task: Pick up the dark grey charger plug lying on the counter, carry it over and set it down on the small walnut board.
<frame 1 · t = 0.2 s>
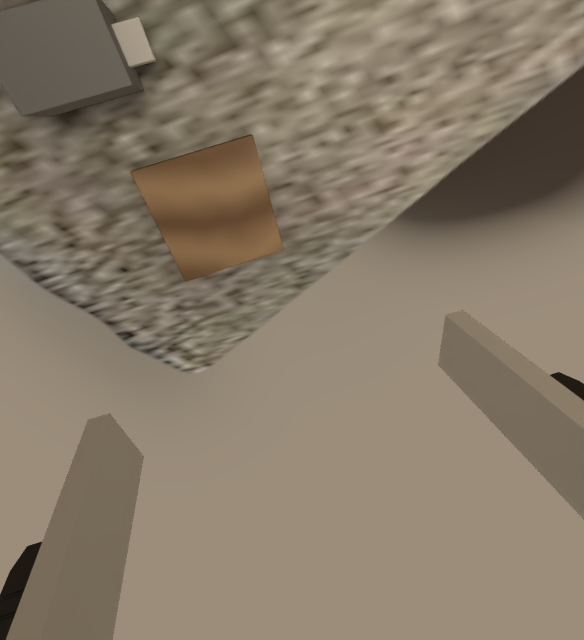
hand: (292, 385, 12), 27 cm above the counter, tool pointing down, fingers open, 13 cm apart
charger plug: (81, 66, 26), on the counter
walnut board: (215, 212, 34), on the counter
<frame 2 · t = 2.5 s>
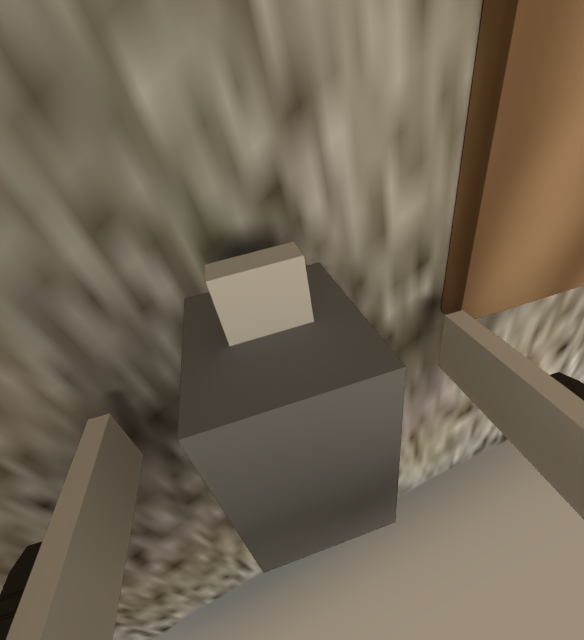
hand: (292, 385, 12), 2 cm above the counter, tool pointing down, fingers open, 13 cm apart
charger plug: (274, 358, 14), on the counter
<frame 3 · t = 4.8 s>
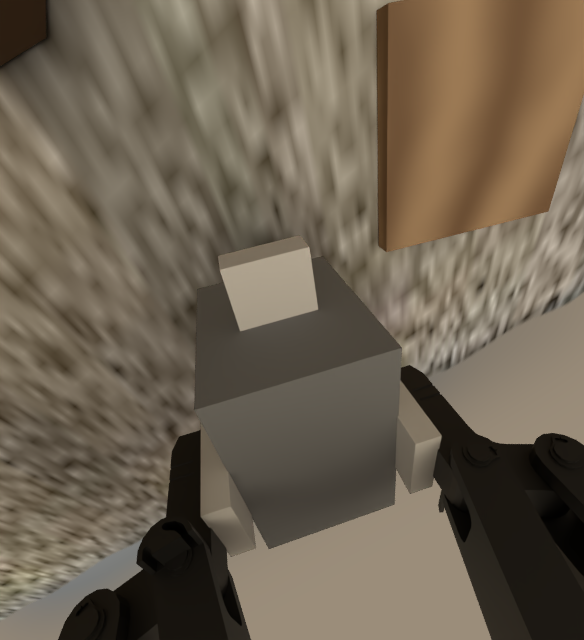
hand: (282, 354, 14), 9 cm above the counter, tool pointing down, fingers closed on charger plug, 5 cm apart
charger plug: (280, 349, 14), point 8 cm above the counter, touching gripper
walnut board: (471, 129, 19), on the counter
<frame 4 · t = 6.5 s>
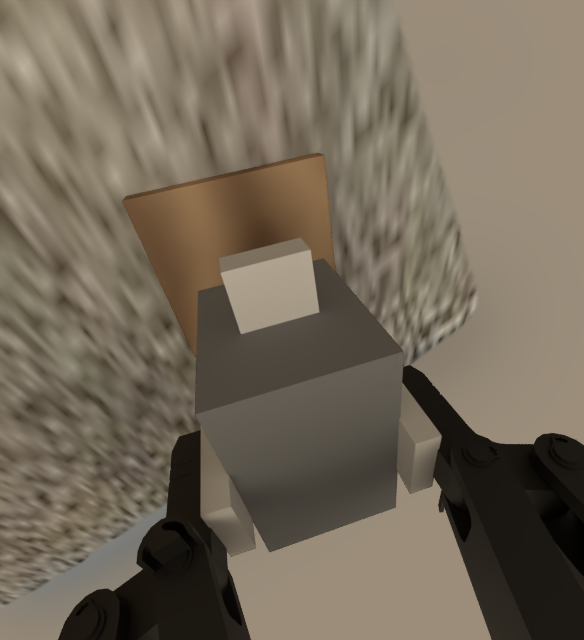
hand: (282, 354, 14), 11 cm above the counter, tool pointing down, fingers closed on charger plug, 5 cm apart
charger plug: (281, 351, 14), point 10 cm above the counter, touching gripper
walnut board: (249, 262, 23), on the counter
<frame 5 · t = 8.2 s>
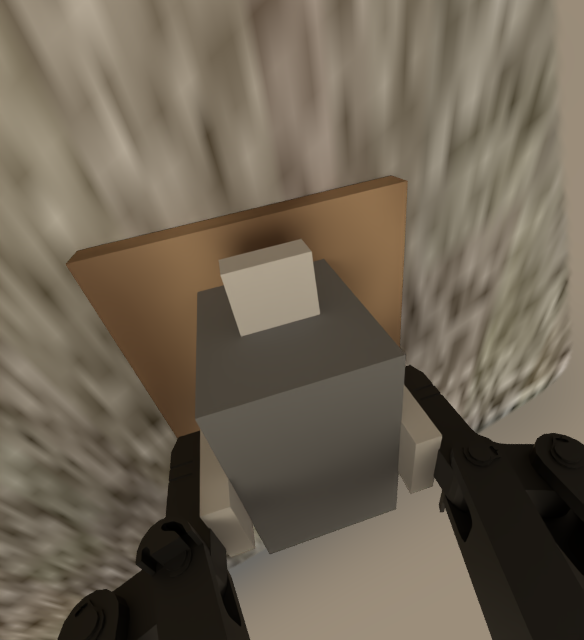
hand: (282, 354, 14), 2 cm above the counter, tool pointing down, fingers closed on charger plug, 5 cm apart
charger plug: (281, 352, 14), point 1 cm above the counter, touching gripper, walnut board
walnut board: (274, 335, 15), on the counter
when the fingers open (2 cm above the counter, at t = 8.7 s): charger plug stays where it is, resting on walnut board.
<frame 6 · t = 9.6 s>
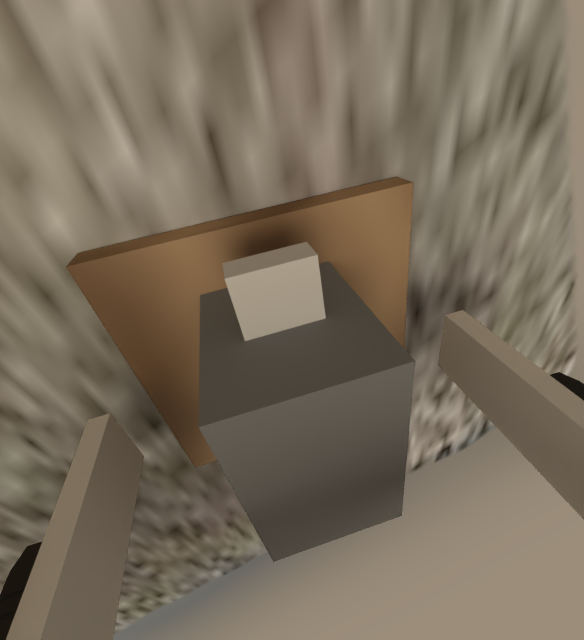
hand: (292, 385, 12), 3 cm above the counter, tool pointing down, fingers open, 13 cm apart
charger plug: (284, 355, 14), point 1 cm above the counter, touching walnut board
walnut board: (276, 338, 15), on the counter
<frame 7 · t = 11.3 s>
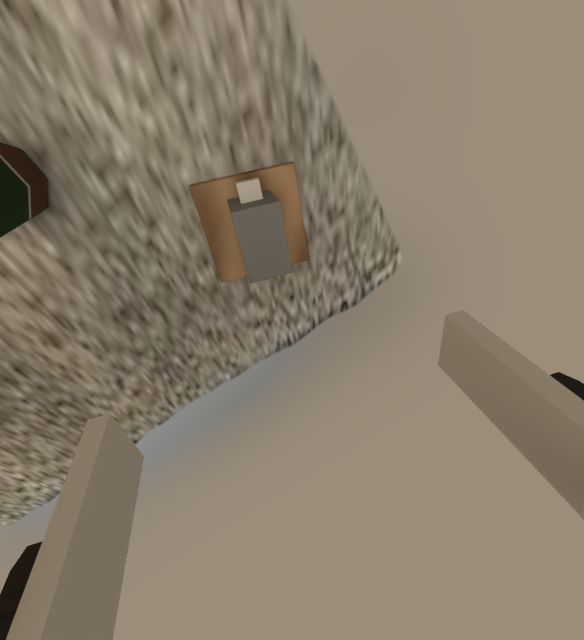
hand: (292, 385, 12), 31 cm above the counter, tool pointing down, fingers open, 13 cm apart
charger plug: (256, 228, 38), point 1 cm above the counter, touching walnut board
beer bottle: (7, 180, 31), on the counter
walnut board: (253, 224, 39), on the counter
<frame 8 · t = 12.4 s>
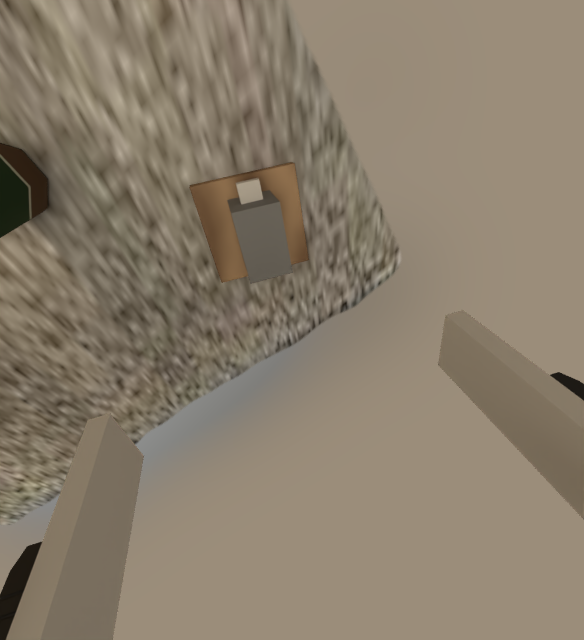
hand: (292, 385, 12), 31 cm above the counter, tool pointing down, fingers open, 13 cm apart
charger plug: (256, 228, 38), point 1 cm above the counter, touching walnut board
beer bottle: (7, 181, 31), on the counter
walnut board: (254, 224, 39), on the counter
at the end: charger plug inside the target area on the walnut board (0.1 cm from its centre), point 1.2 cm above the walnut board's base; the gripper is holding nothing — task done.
